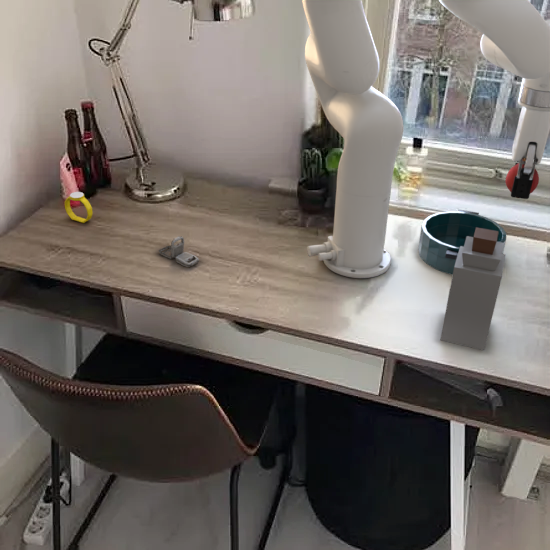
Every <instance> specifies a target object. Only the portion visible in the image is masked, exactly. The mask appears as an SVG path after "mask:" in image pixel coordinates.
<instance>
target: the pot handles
mask: <svg viewBox="0 0 550 550" xmlns="http://www.w3.org/2000/svg"><path fill="white" fill-rule="evenodd" d="M457 211H459V212H467V213H473V214H477V215H480V212H476V211H471V210H464V209H458V210H457ZM458 252H459V251H455V250H450V249H447V251H446V255H445V258H449V259H455V260H456V259H457V256H458Z"/></svg>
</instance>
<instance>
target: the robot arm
mask: <svg viewBox="0 0 550 550" xmlns="http://www.w3.org/2000/svg"><path fill="white" fill-rule="evenodd" d="M438 1H439V2H440V4H441V5H442V6H443V7H444V8H445V9H446V10H448V11H449V12H450V13H452V15H453V16H455V17H457V19H459V20H461V21H463V22H464V23H466V24H468V25H469V26H471V27H473V28H475V29H476V30H477V31H479V32H480V33H482V36H481V38H480V45H479V46H480V47H479V48H480V51H481V53H482V55H483V57H484V58H485V59H486V60H487V61H488V62H489V63H491V64H492V65H494V66H496V67H499V68H500V69H503V70H504V71H507V72H510V73H512V74H514V75H515V76H518V77H519V78H521V79H522V80H521V85H520V89H519V93H518V99H517V104H518V105H519V106H521V111H520V114H519V117H518V122H517V126H516V131H515V134H514V138H513V142H512V147H511V148H512V149H511V160H512V162H513V163H514V166H515V165H516V164H518V163H519V167H518V172H517V176H515V178H514V183H513V187H512V191H511V192H510V197H511V198H516V199H523V200H528V199H529V198H530V195H531V194H530V191H531V187H532V183H533V175H534V170H535V169H536V166H537V165H539V164H541V162H542V158H543V156H544V152H545V150H546V149H545V148H546V145H547V141H548V138H549V134H550V19H545V18H544V17H543V16H542V15H541V12H539V10H538V9H537V8H536V7H535V6H534V5H533V4H532V3H531V2H530V1H529V0H438ZM301 2H302V7H303V11H304V15H305V18H306V21H307V24H308V29H309V32H310V33H309V34H308V37H307V39H306V42H305V47H304V59H305V64H306V67H307V70H308V74H309V75H310V78H311V81H312V84H313V86H314V90H315V92H316V94H317V97H318V99H319V103H320V105H321V108H322V110H323V113H324V115H325V117H326V119H327V121H328V122H329V124H330V125H331V126H332V128H334V130H335V131H337V133H338V134H339V135H340V136H341V137H342V138H343V141H344V144H343V149H342V153H341V156H340V158H339V162H338V167H337V175H336V189H335V191H336V192H335V202H334V203H335V204H334V217H333V229H332V230H333V231H332V235H329V236H327V241H324V242H323V243H322V244H313V245H307V247H306V252H307V256H308V257H314V256H317V257H318V261H319V262H321V261H323V264H324V265H325V267H327V268H328V269H329V270H330V271H332V272H333V273H335V274H338V275H341V276H344V277H347V278H352V279H368V278H369V279H370V278H374V277H378V276H380V275H382V274H384V273H386V272H387V271H388V270H389V269H390V266H391V263H392V258H391V255H390V252H388V250H386V249H385V242H386V234H387V226H388V218H389V210H390V201H391V194H392V185H393V184H392V183H393V176H394V170H395V164H396V160H397V156H398V153H399V149H400V146H401V143H402V141H403V136H404V130H405V129H404V126H405V125H404V120H403V116H402V113H401V111H400V110H399V108H398V106H396V104H395V103H394V102H393V101H392V100H391V99H390V98H388V96H386V95H385V94H384V93H382V92H381V91H379V90H377V89H376V88H375V87H373V86H374V84H375V83H376V81H377V79H378V77H379V73H380V58H379V53H378V50H377V46H376V45H375V41H374V38H373V35H372V32H371V28H370V26H369V22H368V19H367V16H366V12H365V8H364V3H363V0H301ZM523 158H526V161H522V160H523ZM522 164H523V165H525V166H524V168H522Z"/></svg>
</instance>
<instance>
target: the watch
mask: <svg viewBox="0 0 550 550" xmlns="http://www.w3.org/2000/svg"><path fill="white" fill-rule="evenodd" d="M71 201H72V202H73V201H74V202H78V201H79V202H81V203H82V204H83V206H84V208H85V210H86V215H87V216H86V218H84V217H81V216H77V214H76V213H75V212H73V209H72V206H71ZM64 210H65V212H66V214H67V216H68V217H69V218H70V220H72V221H76V222H79V223H82V224H86V223H87V222H88V221H89V220H91V219H92V217H93V213H94V212H93V207H92V205H91V202H90V201H89V200H88V199H87V198H86V197H85V193H83V192H81V191H73V192H71V193H70V194H69V196H68V197H66V198H65V200H64Z"/></svg>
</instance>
